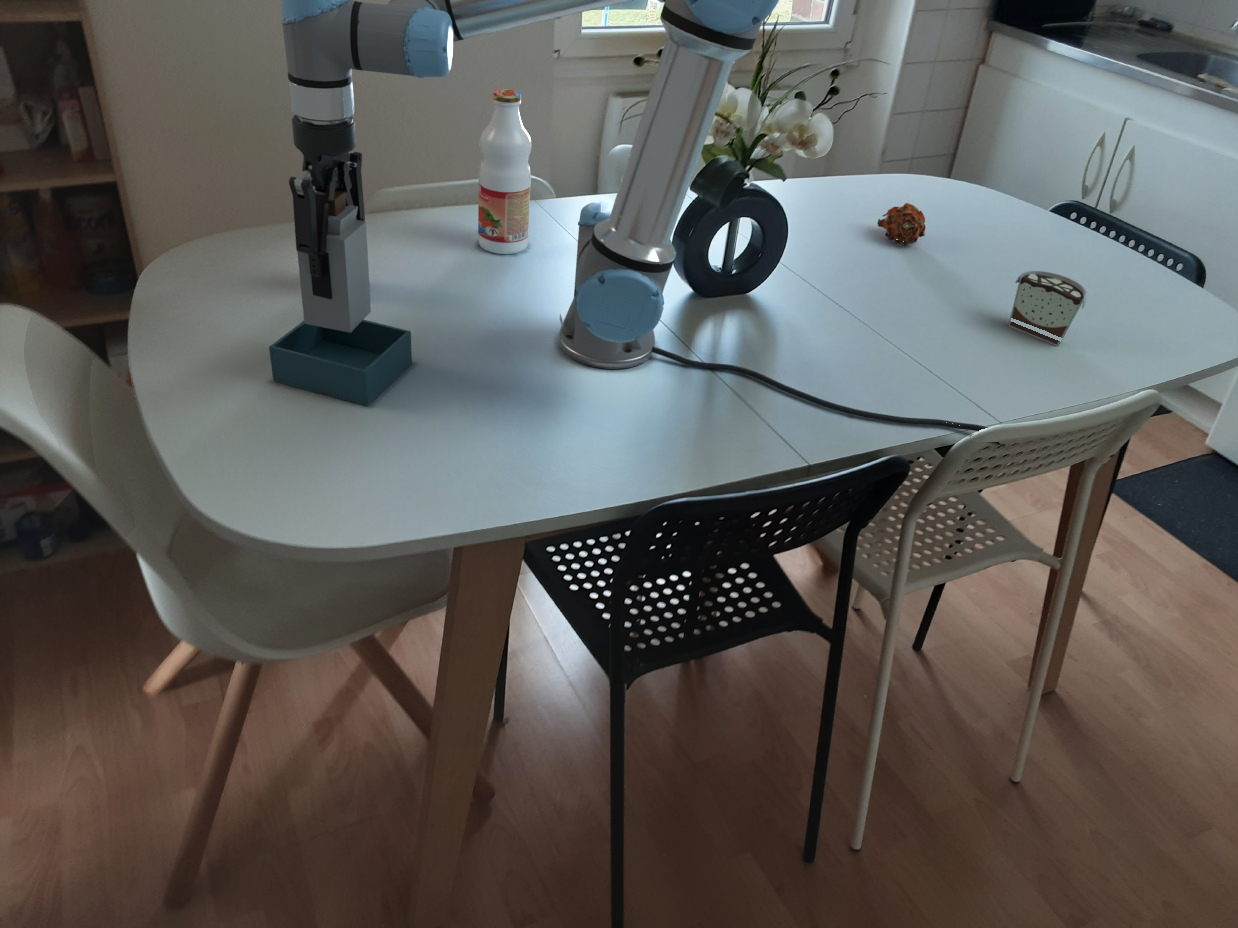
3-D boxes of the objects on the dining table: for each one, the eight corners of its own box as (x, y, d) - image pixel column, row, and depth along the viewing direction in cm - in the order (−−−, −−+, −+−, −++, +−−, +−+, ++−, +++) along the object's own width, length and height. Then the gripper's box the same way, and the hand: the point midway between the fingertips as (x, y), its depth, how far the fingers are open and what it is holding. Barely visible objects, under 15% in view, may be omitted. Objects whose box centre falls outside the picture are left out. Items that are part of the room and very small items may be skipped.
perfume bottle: (350, 332, 133) (342, 206, 123) (304, 323, 134) (291, 197, 123) (370, 311, 138) (364, 189, 128) (326, 303, 139) (316, 180, 129)
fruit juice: (530, 256, 180) (536, 102, 164) (478, 255, 179) (480, 99, 162) (526, 235, 188) (532, 86, 171) (476, 234, 186) (478, 83, 170)
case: (412, 364, 145) (410, 331, 142) (367, 406, 135) (365, 371, 131) (323, 341, 148) (319, 308, 145) (273, 381, 138) (268, 346, 134)
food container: (1079, 339, 173) (1100, 288, 167) (1065, 349, 169) (1087, 298, 164) (1014, 313, 180) (1033, 263, 174) (1000, 323, 176) (1018, 272, 170)
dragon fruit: (907, 261, 199) (881, 245, 210) (942, 237, 199) (914, 222, 209) (891, 227, 195) (865, 213, 205) (927, 202, 194) (899, 189, 205)
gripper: (336, 93, 128) (347, 256, 141) (250, 129, 113) (272, 308, 127) (387, 103, 127) (393, 267, 140) (307, 142, 112) (323, 321, 125)
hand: (336, 286), depth 133 cm, fingers closed on perfume bottle, 6 cm apart
